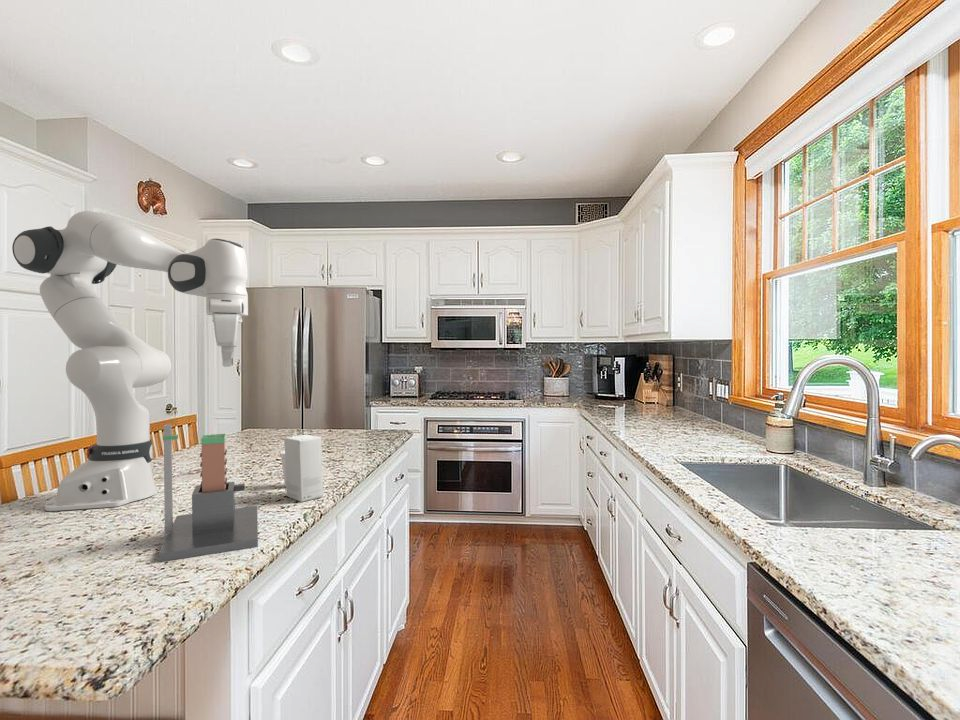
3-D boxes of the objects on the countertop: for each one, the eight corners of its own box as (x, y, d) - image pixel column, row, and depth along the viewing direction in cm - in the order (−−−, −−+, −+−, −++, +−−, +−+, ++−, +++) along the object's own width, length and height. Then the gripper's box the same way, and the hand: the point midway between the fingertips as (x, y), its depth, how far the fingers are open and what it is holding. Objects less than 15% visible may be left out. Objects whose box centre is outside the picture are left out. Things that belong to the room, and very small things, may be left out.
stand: (154, 562, 85) (152, 433, 85) (173, 523, 105) (172, 418, 105) (257, 546, 92) (256, 427, 92) (257, 512, 112) (256, 414, 112)
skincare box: (323, 497, 124) (323, 437, 124) (299, 503, 119) (298, 440, 119) (308, 491, 129) (307, 433, 129) (284, 496, 125) (283, 436, 124)
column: (200, 500, 96) (199, 438, 96) (202, 495, 100) (201, 435, 99) (226, 497, 98) (225, 436, 98) (227, 492, 102) (226, 433, 101)
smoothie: (308, 483, 137) (308, 434, 137) (297, 489, 131) (297, 438, 130) (287, 482, 138) (286, 434, 137) (275, 489, 131) (274, 438, 131)
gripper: (215, 311, 122) (216, 365, 123) (208, 303, 104) (209, 367, 104) (243, 311, 125) (243, 365, 125) (241, 304, 107) (241, 367, 107)
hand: (228, 366), depth 115 cm, fingers open, 8 cm apart
